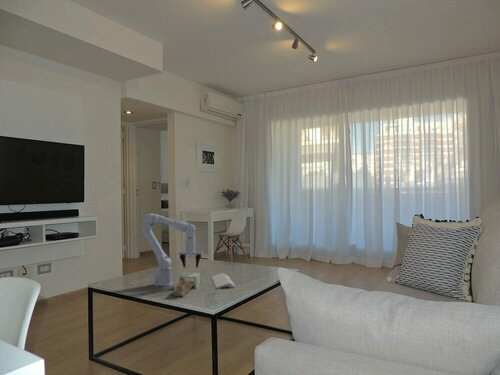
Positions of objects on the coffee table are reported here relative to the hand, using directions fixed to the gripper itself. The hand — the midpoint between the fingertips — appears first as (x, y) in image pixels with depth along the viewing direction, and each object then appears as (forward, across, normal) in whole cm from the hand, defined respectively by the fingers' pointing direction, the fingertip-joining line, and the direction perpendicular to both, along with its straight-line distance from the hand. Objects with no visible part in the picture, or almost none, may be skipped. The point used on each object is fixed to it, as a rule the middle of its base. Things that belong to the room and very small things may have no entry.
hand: (190, 267), depth 213 cm
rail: (+10, +1, -14) cm, 17 cm away
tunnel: (+10, +1, -6) cm, 12 cm away
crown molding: (+11, +19, +4) cm, 22 cm away
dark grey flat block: (+10, +1, +3) cm, 10 cm away
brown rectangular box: (+10, +1, -22) cm, 24 cm away
